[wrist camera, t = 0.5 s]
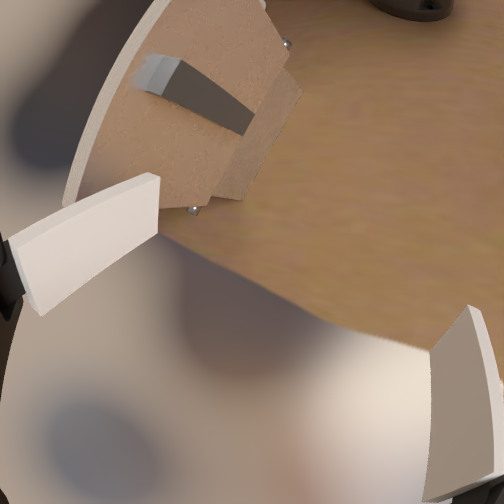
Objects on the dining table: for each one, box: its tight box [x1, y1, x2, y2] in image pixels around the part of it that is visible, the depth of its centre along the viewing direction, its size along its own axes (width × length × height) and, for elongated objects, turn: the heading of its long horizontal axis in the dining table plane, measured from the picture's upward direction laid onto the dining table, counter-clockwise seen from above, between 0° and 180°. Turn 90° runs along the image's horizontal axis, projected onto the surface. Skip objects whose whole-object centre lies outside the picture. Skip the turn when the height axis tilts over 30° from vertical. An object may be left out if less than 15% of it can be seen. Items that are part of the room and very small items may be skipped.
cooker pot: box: [187, 38, 304, 216], centre depth 34 cm, size 18×23×11 cm
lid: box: [61, 0, 290, 208], centre depth 19 cm, size 17×19×3 cm
